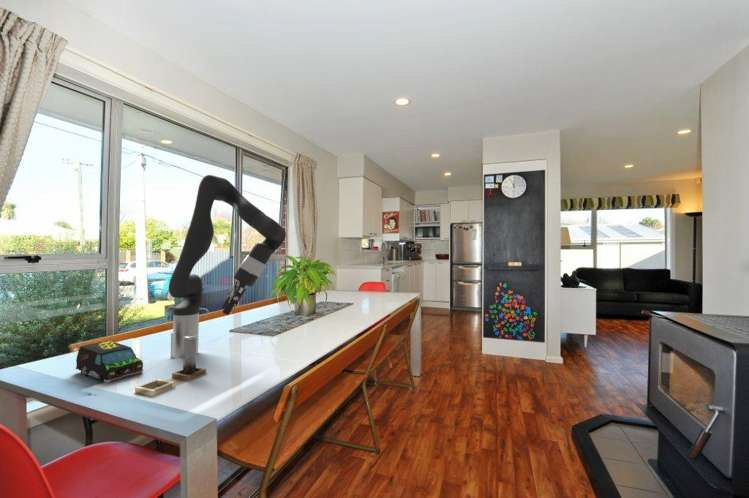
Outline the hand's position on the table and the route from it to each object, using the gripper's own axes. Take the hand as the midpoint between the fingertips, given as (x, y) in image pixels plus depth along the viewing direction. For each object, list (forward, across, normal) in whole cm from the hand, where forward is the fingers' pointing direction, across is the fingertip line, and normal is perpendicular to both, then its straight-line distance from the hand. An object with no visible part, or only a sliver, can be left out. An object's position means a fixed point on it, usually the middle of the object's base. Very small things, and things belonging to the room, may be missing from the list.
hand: (224, 311), depth 116 cm
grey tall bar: (+23, +2, +1) cm, 23 cm away
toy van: (+37, -14, -19) cm, 44 cm away
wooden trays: (+26, +6, -2) cm, 27 cm away
